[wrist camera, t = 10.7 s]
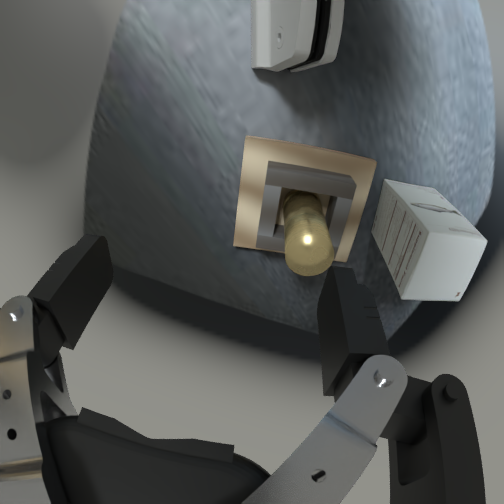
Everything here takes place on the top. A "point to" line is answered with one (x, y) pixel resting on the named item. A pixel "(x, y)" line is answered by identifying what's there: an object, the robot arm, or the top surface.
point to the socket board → (300, 157)
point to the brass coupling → (306, 234)
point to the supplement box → (425, 242)
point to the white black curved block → (295, 33)
